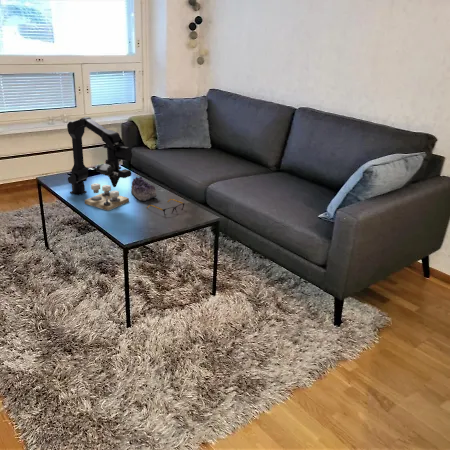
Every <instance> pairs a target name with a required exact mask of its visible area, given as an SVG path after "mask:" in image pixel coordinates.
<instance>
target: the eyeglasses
mask: <svg viewBox="0 0 450 450" xmlns="http://www.w3.org/2000/svg"><path fill="white" fill-rule="evenodd" d="M170 201H174V202H177V203H180V204H178V205H177V206H175V207H174V206H172V207H167V208H160V207H158V206H156V205H153V204H149V205H148V206H147V207H146V209H148V208H149V207H154V208H156V209H158V210H160V211H162V212H163V214H164V216H166V213H165V212H166V211H167V210H168V209H172V210H171V211H172V212H171V214H173V213H174V211H175V212H176V213H178V211H177V207H179V206H181V205H182V208H181V211H183V210H184V207H185V203H184V202H182V201H180V200H176V199H173V198H170V199H168V200H167V203H169V202H170Z"/></svg>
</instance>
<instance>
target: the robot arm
mask: <svg viewBox="0 0 450 450" xmlns="http://www.w3.org/2000/svg"><path fill="white" fill-rule="evenodd" d="M66 124H67V126H66V127H67V132H68V134H69V136H70V137H71V143H72V155H73V157H72V158H73V166H72V168H71V170H70V171H71V174H70V176H69V177H68V178H67V182H68V183H69V184H71V191H69V193H70V194H72V195H77V196H80V195H83V194H86V193H87V190H86V188H85V187H86V186H85V182H87V179H88V178H89V177H88V176H89V168H88V167H86V165H85V164H84V153H83V152H84V151H83V150H84V149H83V136H84V134H85V128H87V129H88V130H90V131H91V132H93V133H94V134H96V135H98V137H100V138H101V141H102V142H103V143H104V144H105V145H104V146H103V148H104V149H106V155H107V157H106V158H107V159H105V162H104V163H103V164H100V165H97V166H96V169H95V170H96V172H97V173H100V175H103V176H107V177H108V178H109V179H110V182H111V186H112V187H113V188H116V187H117V185H118V182H119V181H120V178H122V179H126V178H129V177H131V176H132V171H131V170H130V169H122V166H120V162H122V161H123V162H130V161H131V160H132V158H133V153H132V150H130V147H129V146H126V145H125V143H124V141H123V139H122V138H121V136H120V133H118V131H115V130H112V129H107V128H106V127H105V126H103V125H101V124H100V123H98V122H96V121H95V120H93V119H92V118H91V117H90V116H86V117H81V118H80V119H78V120H72V121H69V122H68V123H66Z"/></svg>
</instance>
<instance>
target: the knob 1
mask: <svg viewBox="0 0 450 450" xmlns="http://www.w3.org/2000/svg"><path fill="white" fill-rule="evenodd" d="M90 188H91V190H92V192H93V193H94V194H99V191H100V190H101V184H100V183H92V184H90Z"/></svg>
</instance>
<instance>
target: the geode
mask: <svg viewBox="0 0 450 450" xmlns="http://www.w3.org/2000/svg"><path fill="white" fill-rule="evenodd" d="M130 193H131V194H132V195H133V196H134V197H135V198H136V199H138V200H139V201H142V202H146V201H149V200H150V199H153V198H154V199H155V198H157V188H156V187H155V186H154V185H152V184H150V183H148V182H147V181H145V179H144V178H143V177H142V176H139V177H138V176H136V177H135V178H133V180H132V182H131V189H130Z"/></svg>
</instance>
